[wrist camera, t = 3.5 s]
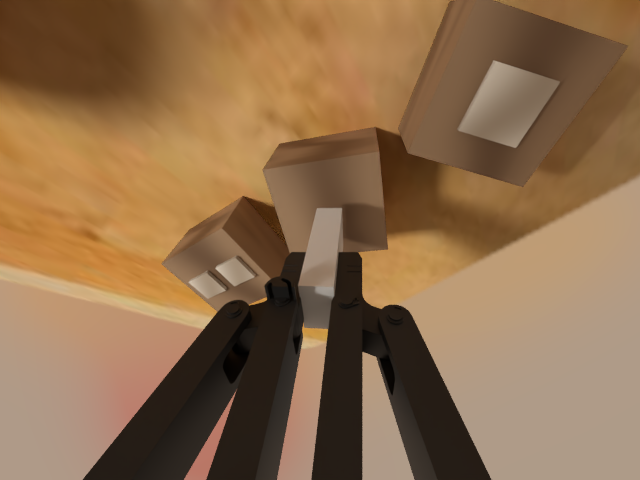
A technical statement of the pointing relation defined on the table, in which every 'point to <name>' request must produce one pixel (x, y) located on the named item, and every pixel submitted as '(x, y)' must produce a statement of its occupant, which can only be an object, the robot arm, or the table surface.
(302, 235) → the plain block
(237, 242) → the dot block two
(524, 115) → the dot block one
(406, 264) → the table surface
